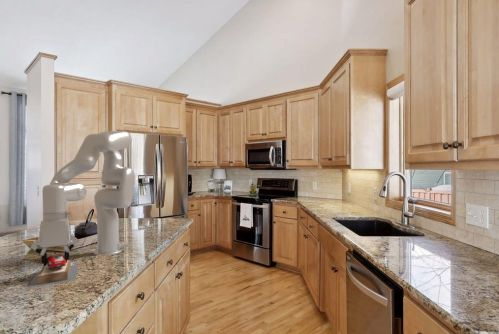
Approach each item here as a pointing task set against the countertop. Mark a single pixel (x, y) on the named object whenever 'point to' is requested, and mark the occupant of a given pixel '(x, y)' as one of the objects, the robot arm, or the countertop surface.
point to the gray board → (71, 278)
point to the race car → (56, 261)
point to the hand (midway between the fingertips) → (55, 262)
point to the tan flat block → (54, 273)
